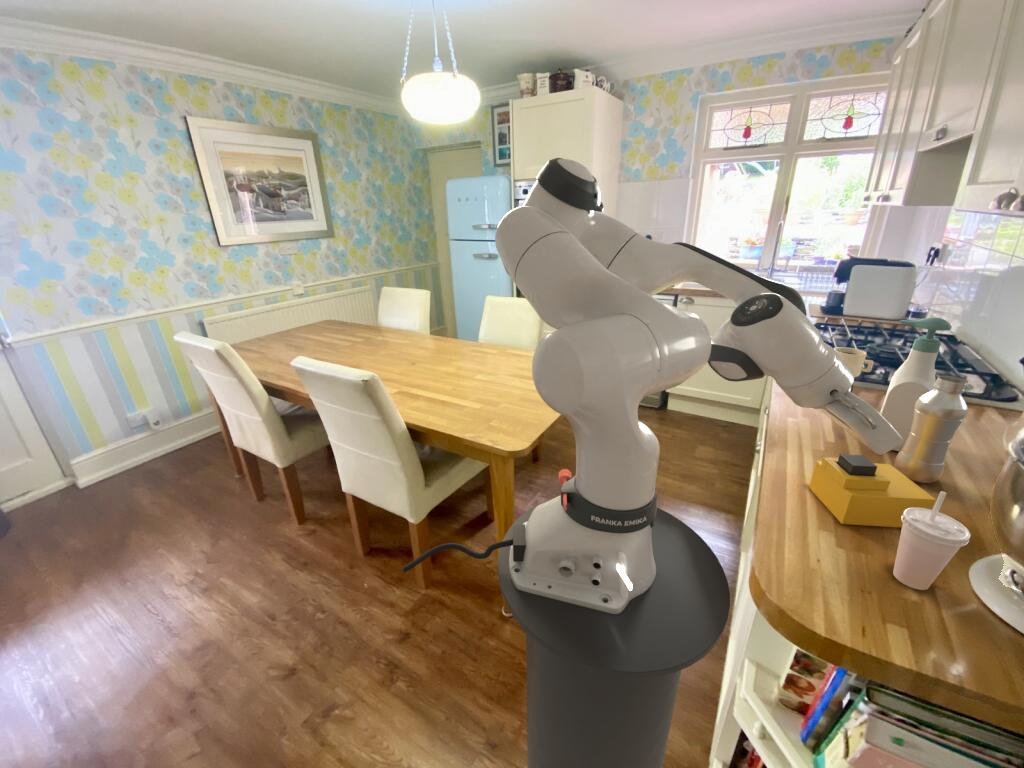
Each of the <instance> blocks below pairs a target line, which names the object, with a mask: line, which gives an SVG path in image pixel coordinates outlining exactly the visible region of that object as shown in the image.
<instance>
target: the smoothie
mask: <svg viewBox="0 0 1024 768" xmlns="http://www.w3.org/2000/svg"><path fill="white" fill-rule="evenodd" d="M946 496H947V492H945V491H944V490H943V491H942V490H941V491H940V492H939V494H938V497H937V499H936V501H935V503H934V506H933V508H932V510H929V509H925V508H908V509H906V510H905V511H904V513H903V515H902V516H901V520H902V522H903V525H902V528H901V531H900V536H899V540H898V546H897V550H896V555H895V559H894V565H893V570H892V575H893V576H894V577H895V578H896V580H898V581H899V582H900V583H902V584H903V585H905V586H907V587H908V588H911V589H915V590H918V591H926V590H928V589H930V587H931V586H932V585H933V583H934V582H935V580H936V579H937V578H938V577H939V575H940V574H941V572H943V570H944V569H945V568H946V566H947V565H948V564H949V562H950V561H951V560H952V558H953V557H954V556H955V555H956V554H957V552H959V550H960V548H961V547H966V546H967V545H968V544H969V542H970V539H971V532H970V531H969V529H968V528H967V527H966V526H965V525H964V524H962V522H960V521H958V520H956V519H955V518H953V517H951V516H949V515H947V514H945V513H942V512H939V511H940V509H941V507H942V505H943V503H944V500H945V498H946Z"/></svg>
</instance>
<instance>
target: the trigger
mask: <svg viewBox="0 0 1024 768" xmlns="http://www.w3.org/2000/svg"><path fill="white" fill-rule="evenodd" d="M838 458H839V459H838V462H837V464H838V465H839V466H840V467H841V468H842V469H843V470H844V471H846V472H847V473H848V474H849V475H854V476H874V475H875V472H876V469H877V466H876V465H875V464H873V463H874V462H872V461H871V460H869V459H868V458H867V457H866V456H865V455H864V454H847V453H840V454H839V456H838Z"/></svg>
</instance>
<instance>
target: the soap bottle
mask: <svg viewBox="0 0 1024 768" xmlns="http://www.w3.org/2000/svg"><path fill="white" fill-rule="evenodd" d="M899 321H900V323H901V325H902V326H909V327H915V328H919V329H925V330H927V331H926V334H925V335H921V336H918V338H915V339H914V341H913V344H912V347H911V349H910V352H909V354H908V356H907V358H906V359H905V361H904V362H903V363H902V364H901V365H900V366H899V367H898V368H897V370H895V372H894V374H893V375H892V377H891V379H890V381H889V385H888V388H887V391H886V394H885V396H884V400H883V401H882V405H881V409H880V411H879V413H880V414H881V415H882V416H883V417H884V418H885V419H886V420H887V421H888V422H889V423H890V425H891V426H892V427H893V428H894V429H895V430H896V431H897V432H898V433H899V434H900V436H901V437H902V439H903V441H902V443H901V444H900V445H899V446H897V447H895V448H894V449H892V450H891V451H895V452H898V453H899V452H900V450H901V449H902V448H903V446H904V444H905V442H906V440H907V438H908V436H909V432H910V430H911V425H912V422H913V416H914V409H915V404H916V401H917V400H918V399H919V398H920V397H921V396H923V395H924V394H926V393H928V392H930V391H932V390H934V389H935V388H934V387H933V385H934V383H936V380H937V378H936V370H935V369H936V368H935V367H936V366H935V365H936V361H937V358H938V354H939V351H940V347H941V346H942V341H940V338H938V337H935V336H936V335H935V334H936V332H937V331H940V332H941V331H942V332H943V331H945V332H946V331H951V330H952V328H953V326H952V325H951V323H950V322H949V321H948V320H946V319H943V318H941V317H934V316H932V317H926V318H922V319H917V320H910V319H909V320H908V319H900V320H899Z"/></svg>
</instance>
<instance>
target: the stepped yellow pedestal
mask: <svg viewBox="0 0 1024 768" xmlns="http://www.w3.org/2000/svg"><path fill="white" fill-rule="evenodd" d="M838 459H839V457H822V460H816V461H815V464H814V467H813V472H812V475H811V478H810V482H809V485H808V489H810V490H811V491H812V493H813V494H814V495H815V496H816V497H817V499H819V501H820V502H822V504H823V506H825V508H827V510H829V512H830V513H831V514H832V515H833V516H834V517H835V518H836V519H837V520H838V522H839V523H840V524H841V525H851V526H853V525H854V526H867V527H868V526H870V527H886V528H901V529H902V525H903V522H902V520H901V516H902V515H903V513H904V511H905V510H906V509H908V508H925V509H929V510H933V507H934V505H935V503H936V501H937V499H936V498H935V497H933V496H932V495H931V494H929V493H928V492H927V491H925V490H924V489H923V488H922V487H920V486H919V485H918V484H916V483H915V481H913V480H910V479H909V478H907V477H906V476H905V475H903V474H902V473H901V472H899V471H898V470H897V469H896V468H895V467H894V465H892V464H891V463H877V462H876V463H875V462H872V463H873V464H875V465H876V466H877V469H876V472H875V475H874V476H854V475H849V474H848V473H847V472H846V471H844V470H843V469H842V468H841V467H840V466H839V465H838V464H837V462H838Z"/></svg>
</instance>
